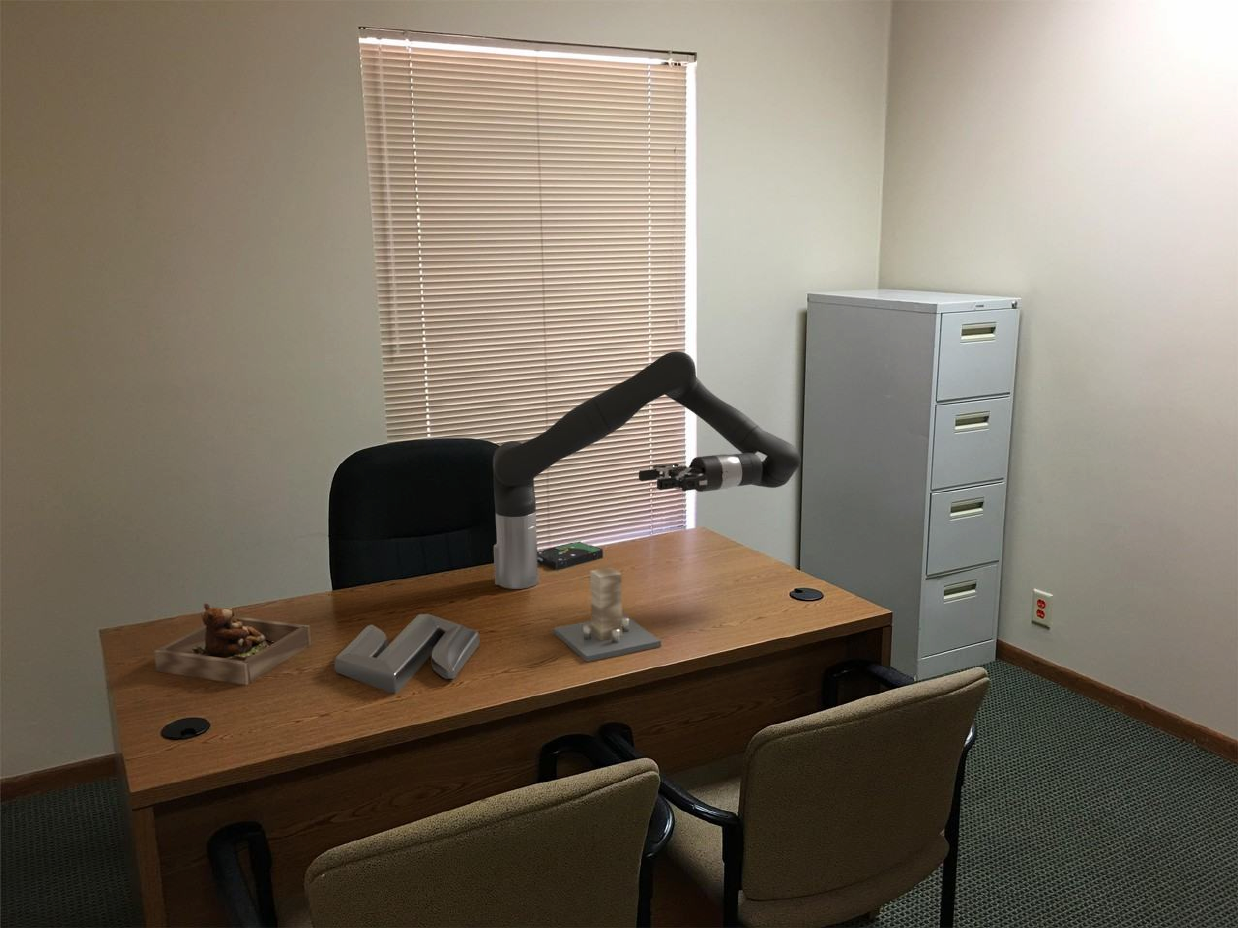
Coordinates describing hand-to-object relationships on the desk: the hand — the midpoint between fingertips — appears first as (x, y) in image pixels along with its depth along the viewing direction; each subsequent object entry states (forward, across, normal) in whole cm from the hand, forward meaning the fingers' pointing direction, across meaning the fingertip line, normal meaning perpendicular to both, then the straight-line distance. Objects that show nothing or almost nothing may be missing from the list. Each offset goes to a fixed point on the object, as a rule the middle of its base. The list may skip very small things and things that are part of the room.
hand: (648, 480), depth 207 cm
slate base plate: (+14, +10, +29) cm, 34 cm away
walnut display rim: (+82, -14, +30) cm, 89 cm away
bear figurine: (+83, -15, +30) cm, 90 cm away
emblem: (+52, +2, +30) cm, 60 cm away
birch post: (+14, +10, +28) cm, 33 cm away
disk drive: (+2, -41, +30) cm, 51 cm away
